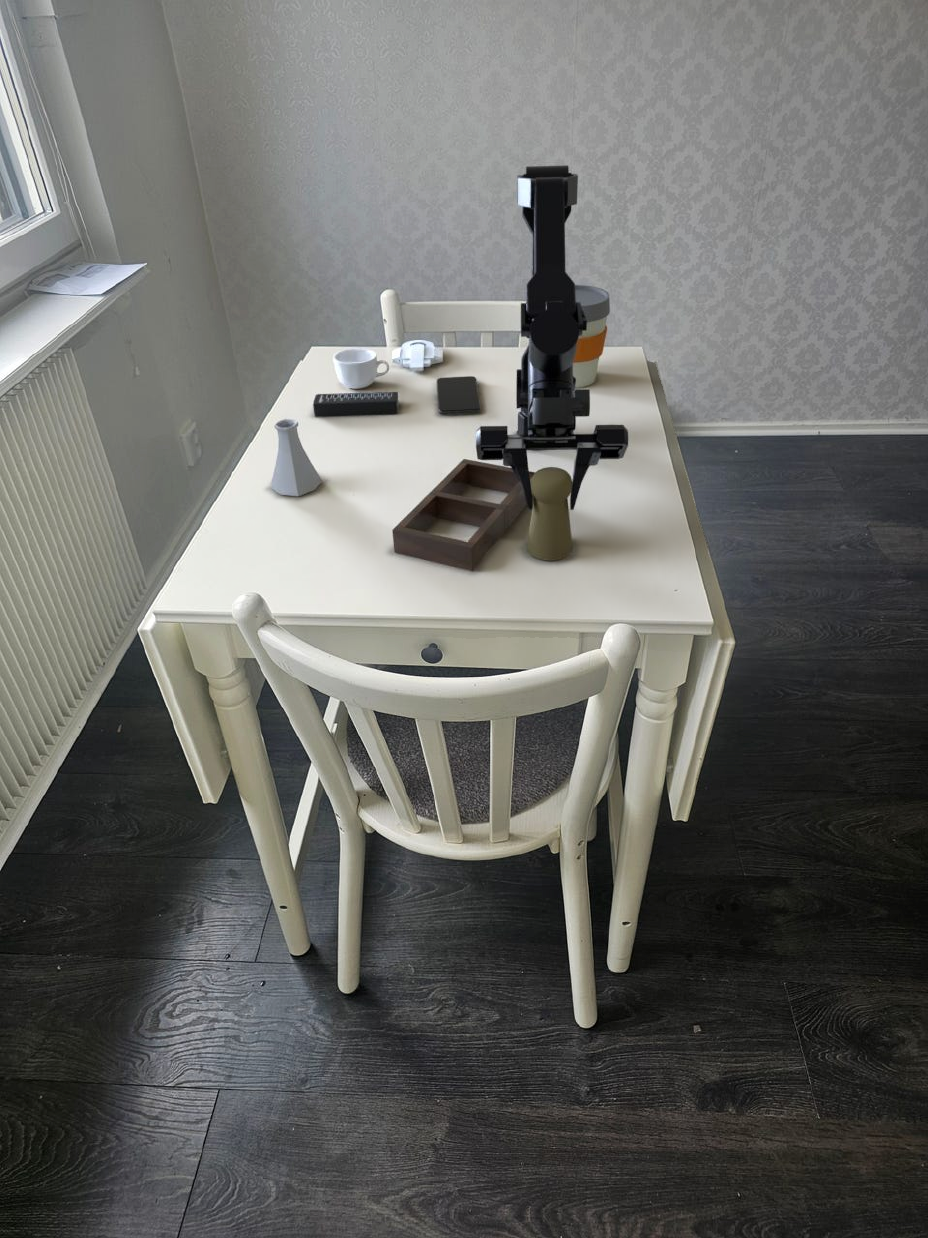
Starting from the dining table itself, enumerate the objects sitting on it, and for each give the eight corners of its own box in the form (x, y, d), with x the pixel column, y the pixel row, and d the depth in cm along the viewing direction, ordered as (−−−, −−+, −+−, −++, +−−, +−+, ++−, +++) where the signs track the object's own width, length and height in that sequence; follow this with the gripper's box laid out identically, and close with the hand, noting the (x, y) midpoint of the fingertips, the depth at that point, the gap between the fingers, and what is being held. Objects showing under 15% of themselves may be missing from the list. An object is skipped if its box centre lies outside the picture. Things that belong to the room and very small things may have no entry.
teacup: (333, 392, 156) (329, 363, 152) (341, 376, 162) (337, 348, 158) (387, 392, 155) (384, 363, 152) (393, 376, 161) (391, 348, 158)
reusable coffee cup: (608, 367, 161) (614, 285, 152) (601, 393, 151) (607, 308, 142) (542, 363, 163) (544, 283, 154) (531, 389, 154) (532, 305, 145)
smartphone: (481, 413, 146) (476, 379, 158) (481, 409, 146) (476, 375, 157) (438, 416, 146) (436, 381, 158) (438, 411, 145) (436, 377, 157)
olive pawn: (578, 556, 110) (583, 480, 103) (532, 563, 109) (534, 487, 102) (564, 532, 114) (568, 458, 108) (521, 538, 114) (521, 463, 107)
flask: (299, 502, 124) (288, 438, 118) (262, 490, 127) (249, 427, 121) (330, 481, 129) (322, 419, 123) (294, 470, 132) (283, 409, 126)
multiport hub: (397, 414, 147) (396, 401, 146) (314, 416, 147) (312, 403, 146) (399, 403, 151) (398, 391, 149) (317, 406, 151) (315, 393, 150)
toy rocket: (442, 373, 161) (442, 361, 160) (391, 375, 161) (390, 363, 160) (443, 343, 174) (442, 332, 172) (395, 345, 174) (394, 334, 173)
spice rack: (464, 479, 128) (463, 458, 126) (535, 493, 124) (536, 472, 122) (394, 552, 112) (392, 529, 110) (472, 571, 108) (471, 548, 106)
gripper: (474, 363, 101) (473, 492, 99) (633, 361, 100) (635, 491, 98) (478, 399, 112) (477, 515, 110) (621, 397, 111) (623, 514, 109)
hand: (551, 509), depth 107 cm, fingers closed on olive pawn, 5 cm apart
